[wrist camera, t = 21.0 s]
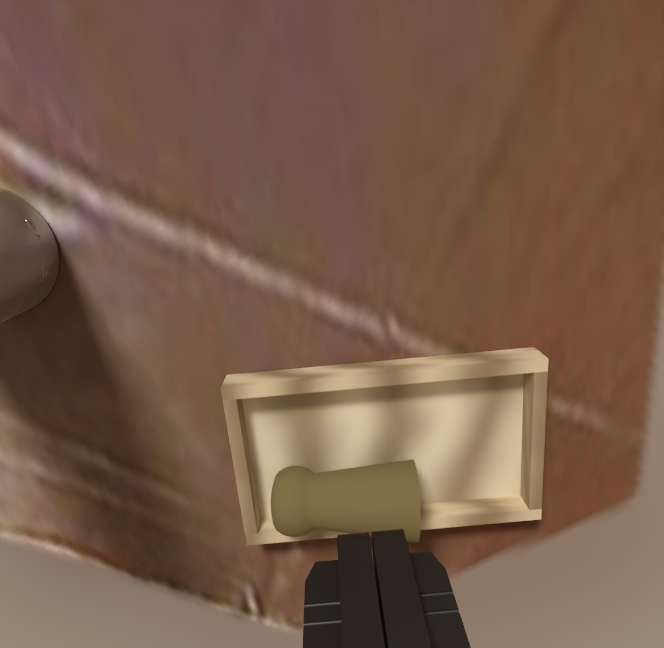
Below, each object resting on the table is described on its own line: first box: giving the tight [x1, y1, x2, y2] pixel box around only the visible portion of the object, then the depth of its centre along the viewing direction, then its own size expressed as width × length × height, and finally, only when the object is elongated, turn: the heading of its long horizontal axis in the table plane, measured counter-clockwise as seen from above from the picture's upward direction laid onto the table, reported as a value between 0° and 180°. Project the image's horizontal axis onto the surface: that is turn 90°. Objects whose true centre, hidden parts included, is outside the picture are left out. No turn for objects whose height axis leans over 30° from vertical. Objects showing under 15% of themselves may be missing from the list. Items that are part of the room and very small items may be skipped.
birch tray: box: [221, 347, 548, 545], centre depth 40 cm, size 24×14×2 cm, turn 95°
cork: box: [271, 459, 421, 543], centre depth 38 cm, size 6×6×11 cm
